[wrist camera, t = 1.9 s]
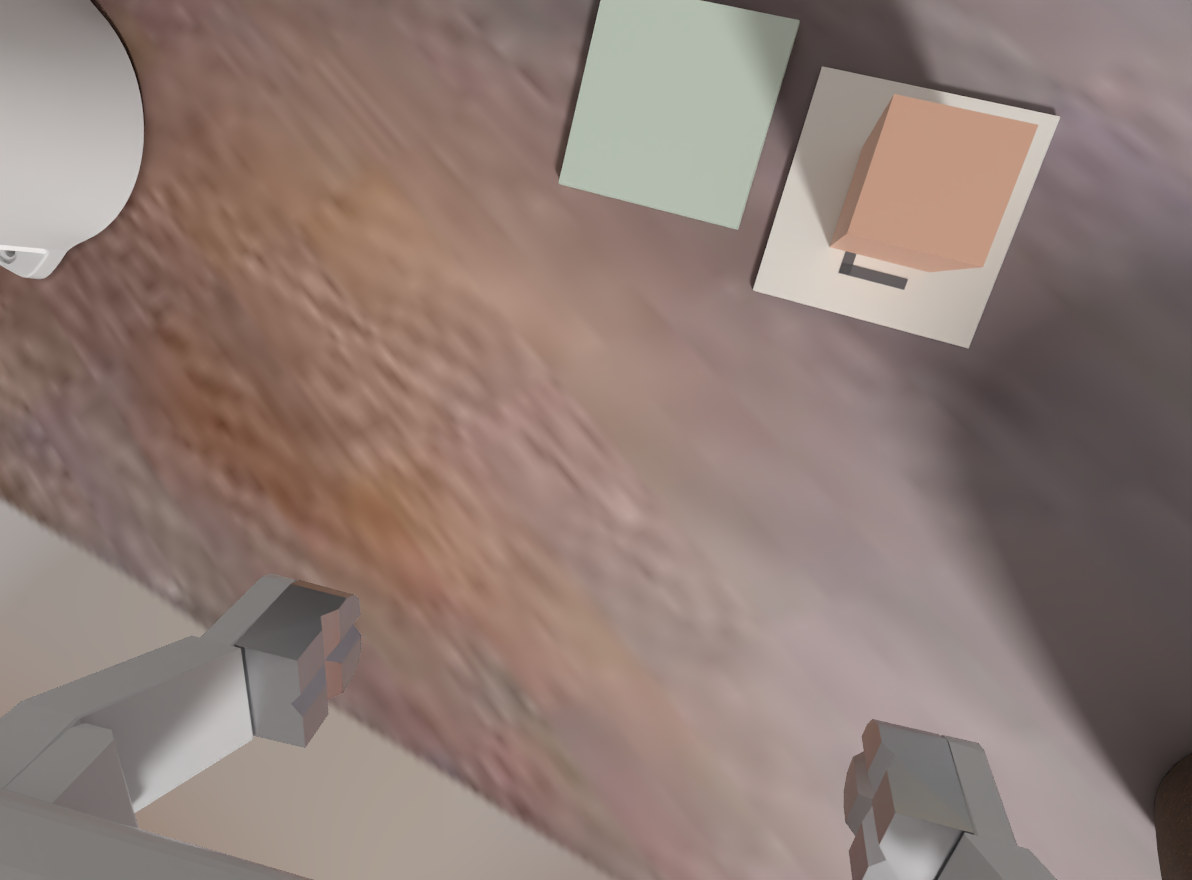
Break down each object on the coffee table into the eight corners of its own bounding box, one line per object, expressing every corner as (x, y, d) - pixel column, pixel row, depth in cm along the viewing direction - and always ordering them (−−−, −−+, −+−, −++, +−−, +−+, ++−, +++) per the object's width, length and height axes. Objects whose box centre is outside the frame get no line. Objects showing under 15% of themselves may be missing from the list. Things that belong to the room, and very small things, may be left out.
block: (829, 247, 33) (846, 233, 25) (863, 145, 32) (893, 93, 24) (928, 272, 32) (983, 267, 24) (967, 168, 31) (1038, 124, 23)
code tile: (752, 290, 35) (752, 290, 34) (821, 68, 32) (822, 66, 32) (967, 347, 33) (968, 348, 33) (1057, 118, 30) (1060, 116, 30)
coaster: (561, 184, 36) (558, 183, 35) (607, -14, 34) (604, -20, 33) (738, 229, 34) (737, 228, 34) (799, 24, 32) (799, 20, 31)
